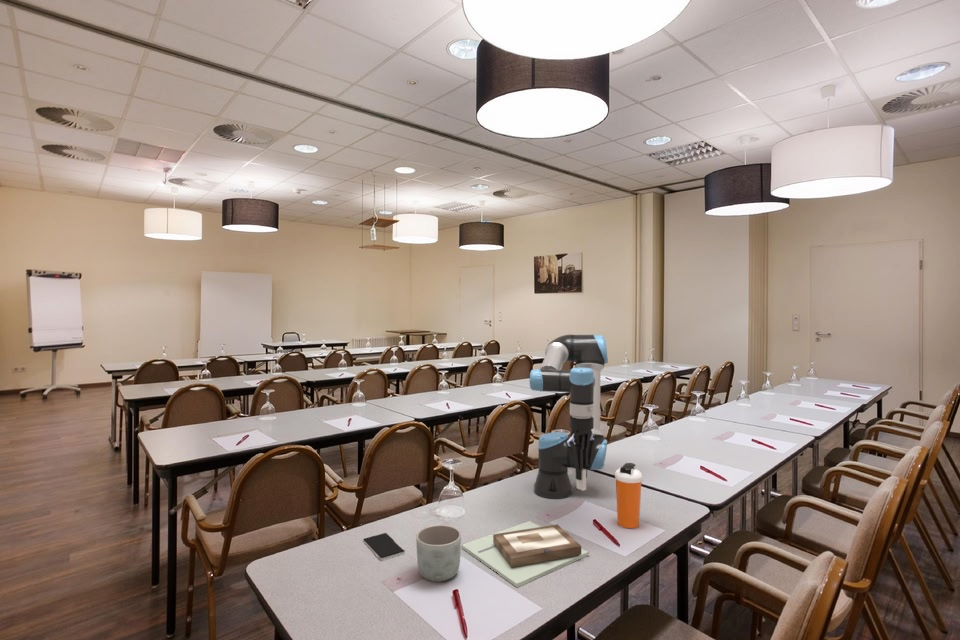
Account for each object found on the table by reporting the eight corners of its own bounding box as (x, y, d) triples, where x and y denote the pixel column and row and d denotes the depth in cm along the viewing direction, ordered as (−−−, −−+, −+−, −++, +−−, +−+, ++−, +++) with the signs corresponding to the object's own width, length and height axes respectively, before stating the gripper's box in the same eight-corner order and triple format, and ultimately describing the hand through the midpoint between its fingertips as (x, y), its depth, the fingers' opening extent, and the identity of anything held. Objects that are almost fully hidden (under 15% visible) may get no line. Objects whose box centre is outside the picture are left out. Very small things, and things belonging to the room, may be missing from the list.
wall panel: (461, 548, 148) (461, 544, 148) (529, 523, 164) (529, 520, 164) (516, 587, 127) (516, 583, 127) (588, 555, 143) (588, 551, 143)
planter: (443, 591, 125) (443, 550, 125) (407, 577, 132) (406, 538, 132) (469, 569, 136) (469, 531, 135) (434, 557, 142) (434, 521, 142)
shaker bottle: (643, 521, 166) (643, 463, 166) (640, 532, 158) (640, 471, 158) (616, 516, 170) (617, 460, 170) (612, 526, 162) (612, 467, 162)
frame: (493, 542, 148) (493, 532, 148) (557, 531, 155) (557, 522, 155) (512, 568, 133) (512, 557, 133) (582, 555, 140) (582, 545, 140)
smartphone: (386, 532, 157) (406, 550, 145) (386, 536, 157) (406, 554, 145) (362, 538, 153) (380, 558, 140) (362, 542, 153) (380, 562, 140)
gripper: (576, 420, 148) (576, 497, 149) (604, 415, 156) (603, 487, 156) (558, 416, 154) (558, 489, 155) (586, 411, 162) (586, 481, 163)
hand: (581, 488), depth 156 cm, fingers closed
